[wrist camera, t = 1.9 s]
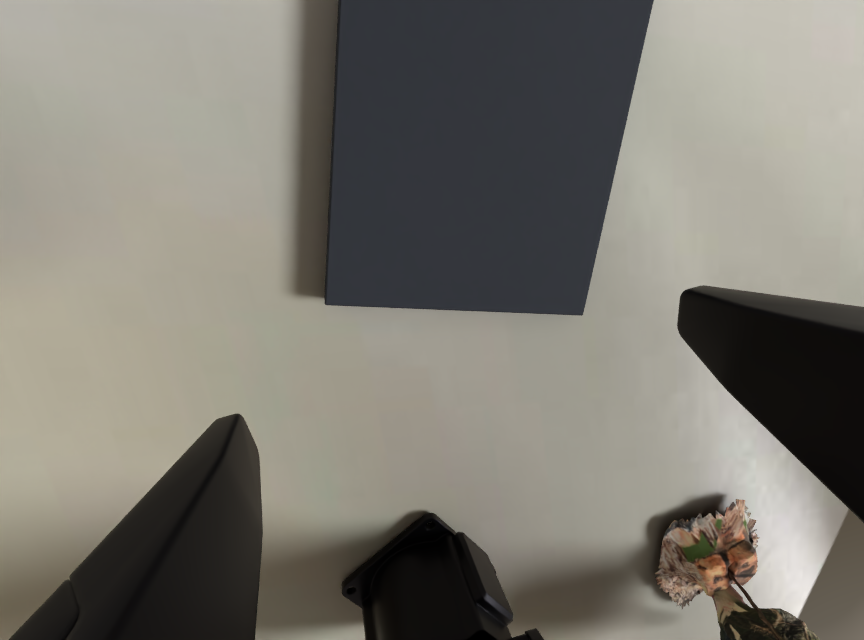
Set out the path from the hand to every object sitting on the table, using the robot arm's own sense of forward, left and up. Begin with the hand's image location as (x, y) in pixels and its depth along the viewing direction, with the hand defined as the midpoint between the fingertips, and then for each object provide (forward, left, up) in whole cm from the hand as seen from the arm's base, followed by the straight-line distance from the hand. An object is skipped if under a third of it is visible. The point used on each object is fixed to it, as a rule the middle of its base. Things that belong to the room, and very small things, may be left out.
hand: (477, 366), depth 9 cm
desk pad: (+9, +4, -12) cm, 15 cm away
